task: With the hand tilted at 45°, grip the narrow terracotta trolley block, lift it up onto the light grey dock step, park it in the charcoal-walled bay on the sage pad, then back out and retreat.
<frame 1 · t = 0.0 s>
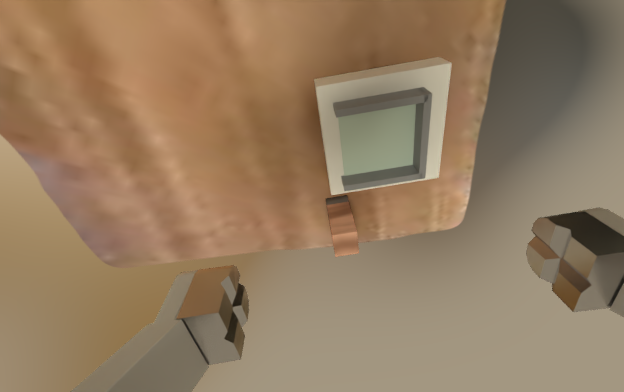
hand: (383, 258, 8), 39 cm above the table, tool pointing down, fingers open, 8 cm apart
bay dock: (377, 126, 47), on the table
trolley block: (337, 207, 57), on the table
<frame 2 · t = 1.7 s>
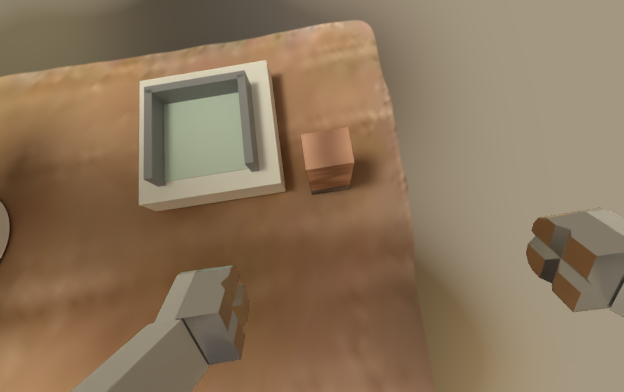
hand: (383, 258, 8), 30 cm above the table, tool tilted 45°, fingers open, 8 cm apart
bay dock: (217, 141, 43), on the table
trolley block: (328, 177, 40), on the table
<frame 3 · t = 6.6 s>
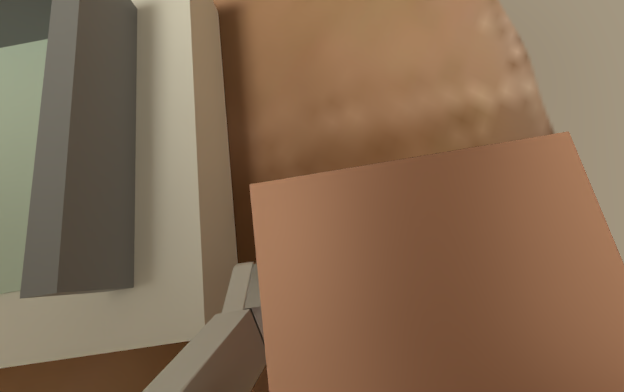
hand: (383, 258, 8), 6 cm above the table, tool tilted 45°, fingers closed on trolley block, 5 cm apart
bay dock: (70, 170, 16), on the table
trolley block: (366, 278, 14), on the table, touching gripper
when the fingers open (12 cm above the table, at t = 13.1 s): trolley block drops 1 cm, resting on bay dock.
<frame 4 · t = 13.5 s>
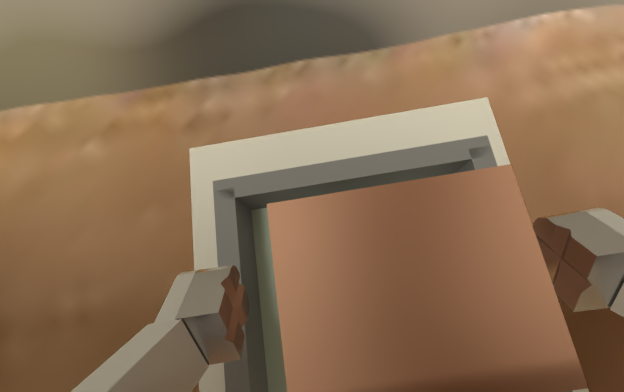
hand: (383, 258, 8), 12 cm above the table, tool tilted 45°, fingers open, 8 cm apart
bay dock: (358, 277, 19), on the table
trolley block: (362, 277, 15), point 4 cm above the table, touching bay dock
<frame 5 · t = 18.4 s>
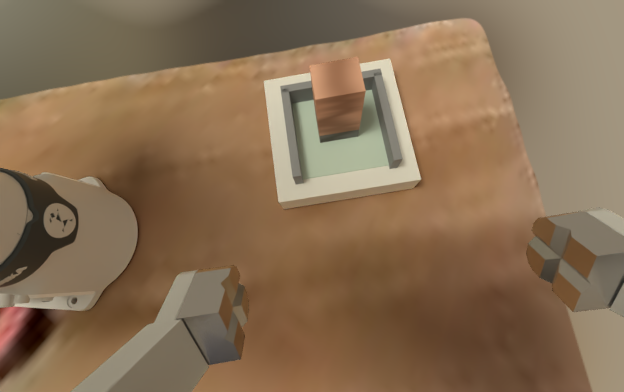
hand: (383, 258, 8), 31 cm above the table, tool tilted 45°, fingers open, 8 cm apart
bay dock: (336, 139, 43), on the table
trolley block: (336, 126, 39), point 4 cm above the table, touching bay dock
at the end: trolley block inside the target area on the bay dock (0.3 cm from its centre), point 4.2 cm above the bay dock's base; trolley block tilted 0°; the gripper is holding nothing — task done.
